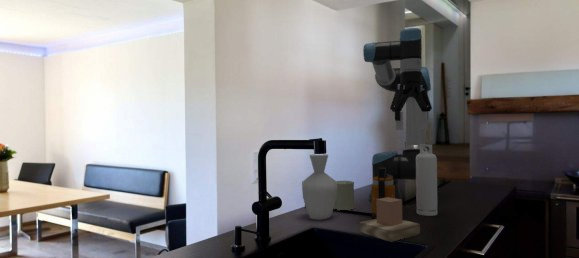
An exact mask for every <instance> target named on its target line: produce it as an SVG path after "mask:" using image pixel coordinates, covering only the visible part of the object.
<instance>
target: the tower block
mask: <svg viewBox="0 0 579 258" xmlns="http://www.w3.org/2000/svg"><path fill="white" fill-rule="evenodd" d="M376 204H377V223H380V224H384V225H388V226H394V225H398V224H401V223H402V220H403V199H402V200H401V199H395V198H390V197H387V198H381V199H376Z"/></svg>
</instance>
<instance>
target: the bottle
mask: <svg viewBox="0 0 579 258" xmlns="http://www.w3.org/2000/svg"><path fill="white" fill-rule="evenodd" d="M423 147H426V148H427V149H428V150H429V151H428V152H427V149H425V151H424V150H423ZM415 188H416V189H415V194H416V201H415V202H416V214H418V215H419V216H427V217H428V216H429V217H430V216H433V217H434V216H437V215H438V158H437V156H436V154H434V153H433V144H428V143H427V144H426V143H425V144H422V145H420V154H418V155H417V156H416V180H415Z"/></svg>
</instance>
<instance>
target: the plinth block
mask: <svg viewBox="0 0 579 258" xmlns="http://www.w3.org/2000/svg"><path fill="white" fill-rule="evenodd" d="M359 233H361V234H365V235H368V236H370V237H374V238H377V239H381V240H383V241H386V242H390V243H393V242H396V241H399V240H400V239H401V240H405V239H408V238H412V237H415V236H420V235H421V224H420V223H418V222H413V221H411V220H405V219H402V223H401V224H398V225H394V226H388V225H384V224H380V223H377V219H376V218H373V219H369V220H364V221H360V222H359ZM404 238H405V239H404ZM401 240H400V241H401Z"/></svg>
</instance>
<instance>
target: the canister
mask: <svg viewBox="0 0 579 258" xmlns="http://www.w3.org/2000/svg"><path fill="white" fill-rule="evenodd" d="M386 171H387V169H386V167H380V169H379V172H378V176H377V177H374V178H373V177H372V184H371V186H370V187H371V189H370V192H371V191H372V202H371V217H373V219H377V204H376V199H381V198H387V197H390V198H395V186H394V185H393V178H392V176H391V175H389V177H388V174H387V173H386ZM386 175H387V176H386Z"/></svg>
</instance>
